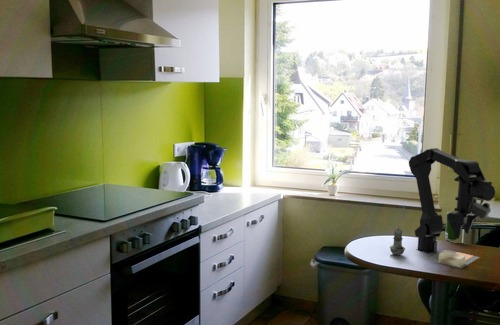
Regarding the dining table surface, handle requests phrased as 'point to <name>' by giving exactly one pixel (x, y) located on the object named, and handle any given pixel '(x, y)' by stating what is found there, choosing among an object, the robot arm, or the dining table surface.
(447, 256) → the cream block
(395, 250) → the grey tower figurine
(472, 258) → the mat
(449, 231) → the beer can
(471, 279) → the dining table surface
